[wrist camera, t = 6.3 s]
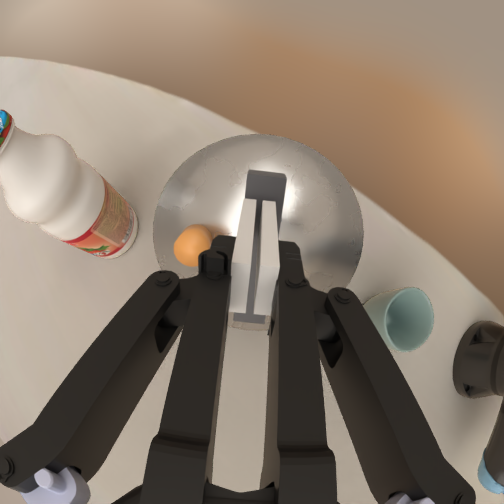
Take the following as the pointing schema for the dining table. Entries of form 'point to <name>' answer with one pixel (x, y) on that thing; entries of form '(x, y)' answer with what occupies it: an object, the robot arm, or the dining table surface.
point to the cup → (401, 317)
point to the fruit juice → (62, 192)
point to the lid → (260, 188)
